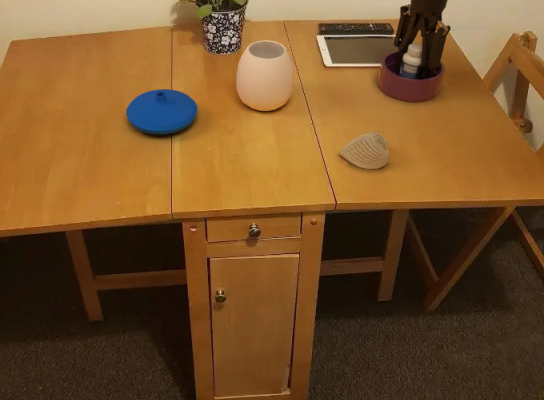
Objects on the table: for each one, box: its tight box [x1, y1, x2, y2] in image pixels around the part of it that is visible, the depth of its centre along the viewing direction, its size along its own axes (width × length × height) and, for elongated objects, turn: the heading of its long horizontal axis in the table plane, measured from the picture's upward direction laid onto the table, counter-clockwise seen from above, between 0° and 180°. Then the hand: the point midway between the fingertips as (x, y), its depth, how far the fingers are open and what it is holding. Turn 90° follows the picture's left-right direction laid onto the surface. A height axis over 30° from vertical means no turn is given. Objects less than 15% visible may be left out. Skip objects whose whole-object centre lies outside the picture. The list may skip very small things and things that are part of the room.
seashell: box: [339, 131, 391, 170], centre depth 119 cm, size 8×8×8 cm
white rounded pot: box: [235, 39, 295, 112], centre depth 132 cm, size 13×13×14 cm
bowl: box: [377, 49, 446, 103], centre depth 139 cm, size 14×14×6 cm
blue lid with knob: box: [125, 88, 198, 135], centre depth 128 cm, size 16×16×7 cm
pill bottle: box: [399, 42, 422, 79], centre depth 137 cm, size 5×5×10 cm
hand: (408, 82), depth 140 cm, fingers closed on pill bottle, 5 cm apart
